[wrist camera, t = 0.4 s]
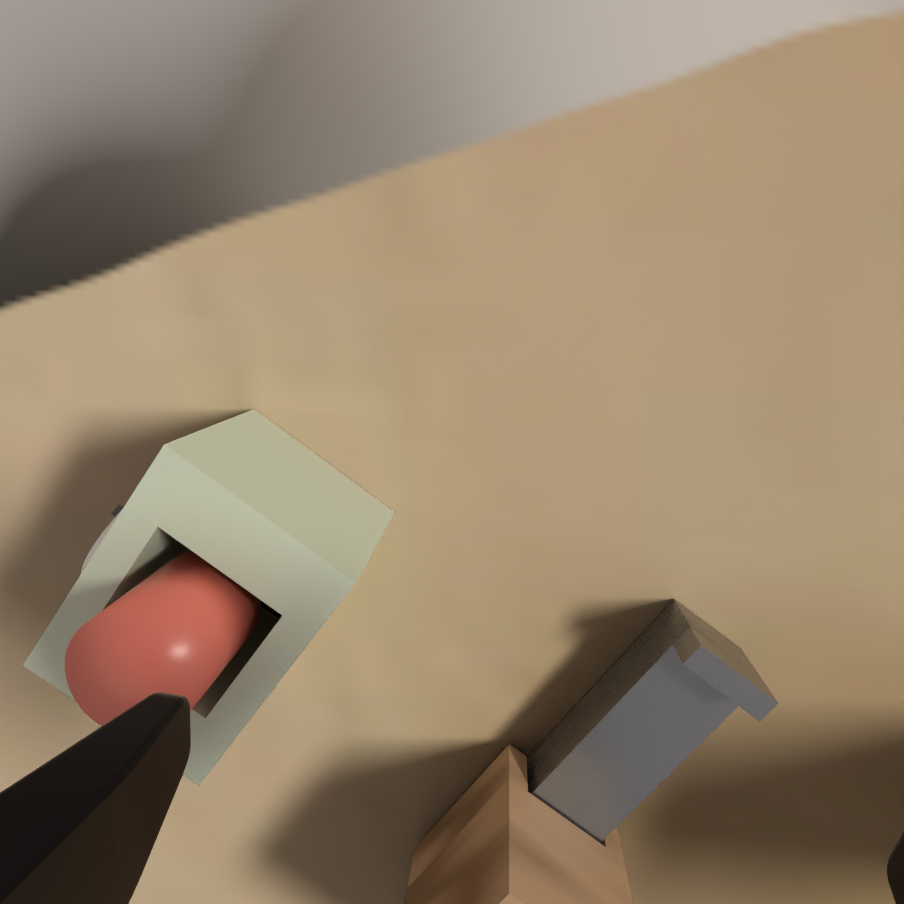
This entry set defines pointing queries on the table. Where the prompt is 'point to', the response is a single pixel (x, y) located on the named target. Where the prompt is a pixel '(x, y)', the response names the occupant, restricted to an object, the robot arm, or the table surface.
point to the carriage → (514, 850)
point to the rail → (643, 721)
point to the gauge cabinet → (231, 557)
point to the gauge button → (160, 638)
